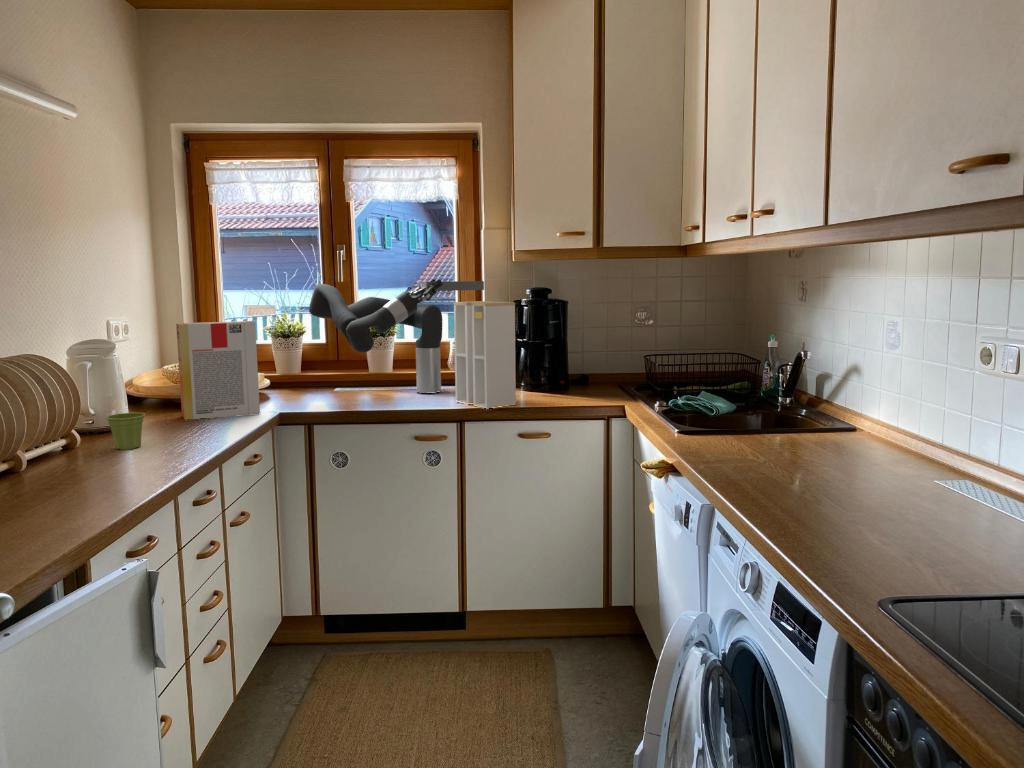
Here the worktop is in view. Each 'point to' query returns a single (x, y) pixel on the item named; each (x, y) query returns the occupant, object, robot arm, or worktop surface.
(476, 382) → the rack
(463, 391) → the rack
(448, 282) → the slat
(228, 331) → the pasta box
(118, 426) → the plant pot
